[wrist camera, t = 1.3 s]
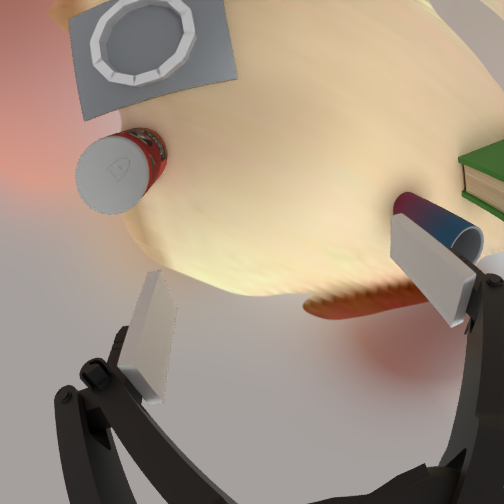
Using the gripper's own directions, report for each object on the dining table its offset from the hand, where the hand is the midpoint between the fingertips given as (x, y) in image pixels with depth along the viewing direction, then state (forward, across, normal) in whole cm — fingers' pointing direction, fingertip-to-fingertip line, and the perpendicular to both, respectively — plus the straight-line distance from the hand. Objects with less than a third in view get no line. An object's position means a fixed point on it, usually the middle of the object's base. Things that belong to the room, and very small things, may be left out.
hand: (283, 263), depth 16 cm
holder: (+24, -8, +20) cm, 32 cm away
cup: (+24, +23, -10) cm, 35 cm away
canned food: (+24, -13, +5) cm, 28 cm away
